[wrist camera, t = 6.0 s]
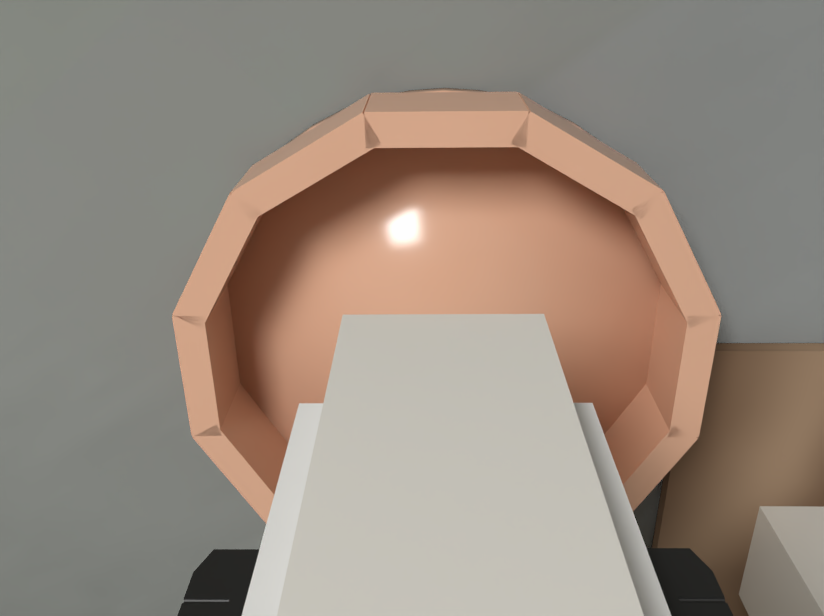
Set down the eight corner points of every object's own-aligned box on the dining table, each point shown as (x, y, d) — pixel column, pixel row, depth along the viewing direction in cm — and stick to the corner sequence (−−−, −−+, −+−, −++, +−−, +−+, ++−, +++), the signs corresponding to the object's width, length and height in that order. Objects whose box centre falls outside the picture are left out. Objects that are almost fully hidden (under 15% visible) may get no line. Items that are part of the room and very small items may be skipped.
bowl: (712, 85, 24) (759, 109, 20) (646, 508, 31) (672, 577, 28) (179, 89, 24) (138, 113, 21) (237, 506, 32) (214, 574, 28)
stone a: (544, 313, 16) (690, 758, 7) (531, 489, 19) (633, 1002, 10) (342, 314, 17) (246, 754, 8) (352, 489, 19) (285, 999, 10)
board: (1016, 343, 28) (1027, 351, 27) (881, 696, 36) (888, 708, 35) (685, 343, 28) (690, 351, 27) (627, 693, 36) (630, 705, 36)
